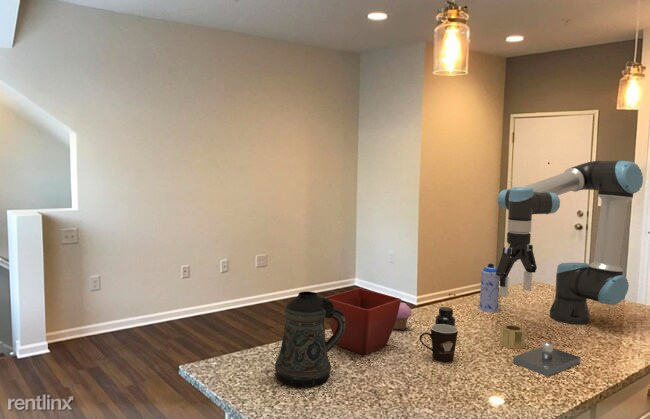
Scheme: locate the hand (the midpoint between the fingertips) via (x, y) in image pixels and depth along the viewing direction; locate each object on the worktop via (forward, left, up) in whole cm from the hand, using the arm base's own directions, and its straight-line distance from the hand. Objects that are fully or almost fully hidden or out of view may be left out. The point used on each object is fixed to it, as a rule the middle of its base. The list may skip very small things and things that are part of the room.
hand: (515, 293), depth 176 cm
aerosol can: (-28, -31, -19) cm, 46 cm away
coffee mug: (+31, -6, -19) cm, 37 cm away
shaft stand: (+5, +16, -18) cm, 25 cm away
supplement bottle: (+18, -15, -19) cm, 30 cm away
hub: (0, 0, -18) cm, 19 cm away
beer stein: (+74, -18, -19) cm, 78 cm away
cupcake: (+22, -34, -19) cm, 45 cm away
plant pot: (+45, -28, -19) cm, 56 cm away
